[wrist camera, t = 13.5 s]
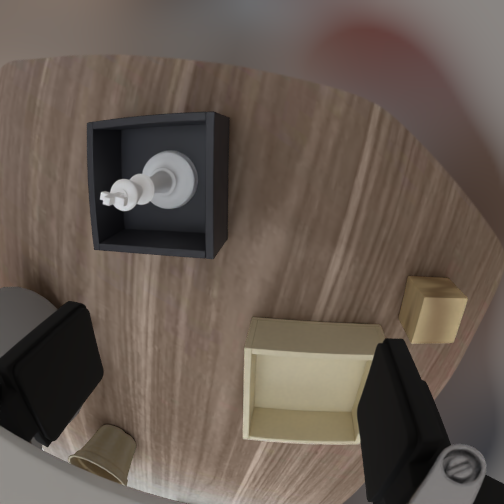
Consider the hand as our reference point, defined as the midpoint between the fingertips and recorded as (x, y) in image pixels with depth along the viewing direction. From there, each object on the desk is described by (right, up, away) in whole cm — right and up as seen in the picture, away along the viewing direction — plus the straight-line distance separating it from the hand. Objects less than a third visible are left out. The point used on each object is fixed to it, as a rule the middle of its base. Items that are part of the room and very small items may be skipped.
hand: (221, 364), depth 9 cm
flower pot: (-19, -25, +31) cm, 44 cm away
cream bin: (+7, -9, +22) cm, 24 cm away
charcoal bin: (-6, +10, +17) cm, 20 cm away
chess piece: (-6, +10, +17) cm, 20 cm away
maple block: (+17, -1, +17) cm, 24 cm away
